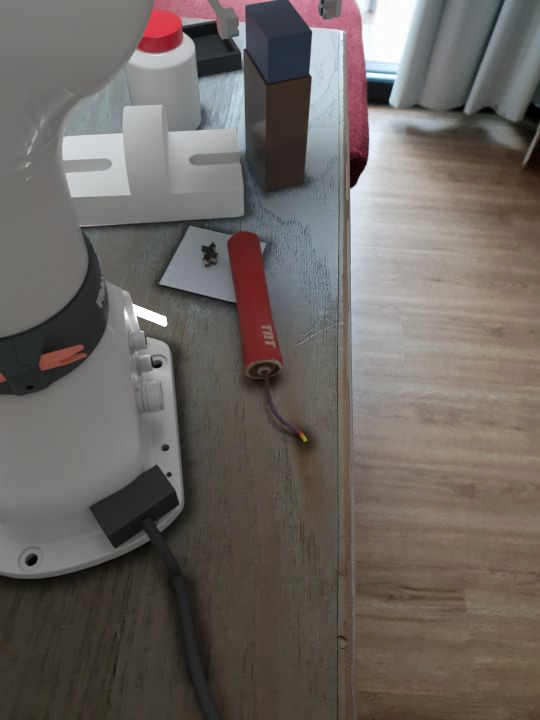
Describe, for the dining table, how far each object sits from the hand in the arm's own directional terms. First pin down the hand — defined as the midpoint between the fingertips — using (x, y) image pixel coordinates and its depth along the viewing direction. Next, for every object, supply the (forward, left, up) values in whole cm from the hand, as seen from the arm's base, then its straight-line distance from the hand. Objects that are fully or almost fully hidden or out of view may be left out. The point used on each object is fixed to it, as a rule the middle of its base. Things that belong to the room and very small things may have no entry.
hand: (279, 25), depth 54 cm
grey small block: (-11, +11, -15) cm, 22 cm away
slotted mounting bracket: (+1, +13, -15) cm, 20 cm away
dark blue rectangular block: (0, 0, -3) cm, 3 cm away
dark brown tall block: (0, 0, -15) cm, 15 cm away
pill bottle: (+12, +9, -15) cm, 21 cm away
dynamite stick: (-12, +7, -13) cm, 19 cm away
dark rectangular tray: (+23, +1, -15) cm, 28 cm away
